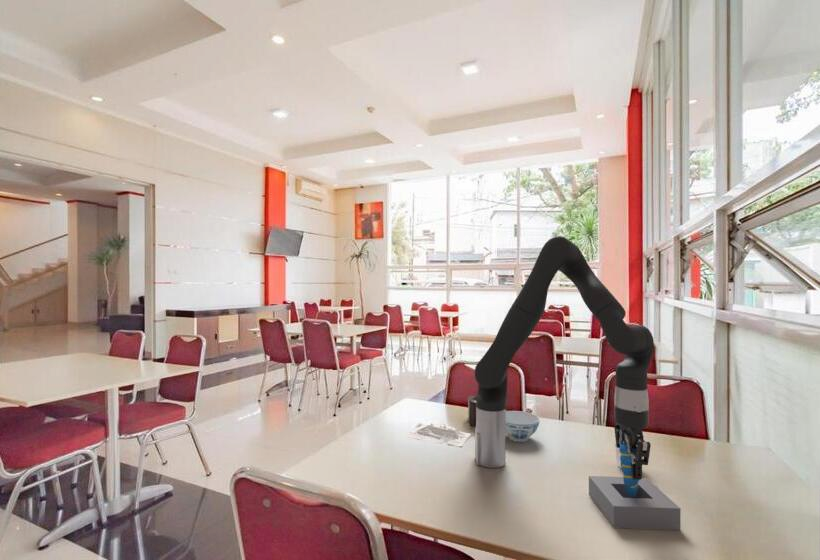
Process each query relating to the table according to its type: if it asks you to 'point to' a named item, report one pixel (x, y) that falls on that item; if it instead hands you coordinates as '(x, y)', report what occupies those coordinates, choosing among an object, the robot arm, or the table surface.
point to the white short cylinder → (618, 456)
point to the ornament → (628, 471)
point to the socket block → (634, 504)
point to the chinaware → (521, 425)
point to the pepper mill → (472, 410)
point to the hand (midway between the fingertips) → (631, 473)
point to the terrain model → (439, 434)
